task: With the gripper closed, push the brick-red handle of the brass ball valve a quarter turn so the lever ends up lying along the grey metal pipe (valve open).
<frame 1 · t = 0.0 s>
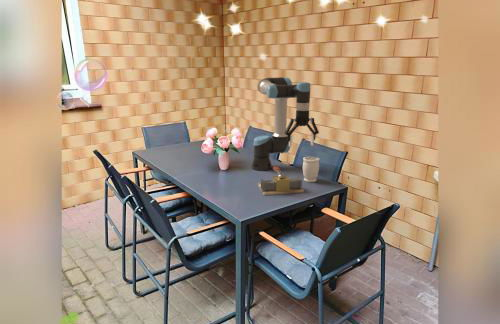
hand: (301, 145, 208), 28 cm above the table, fingers open, 13 cm apart
lever: (278, 171, 219), point 10 cm above the table, hinge at 0.0°
valve pipe: (281, 190, 215), resting on board
board: (280, 188, 219), on the table
jar: (310, 180, 233), on the table
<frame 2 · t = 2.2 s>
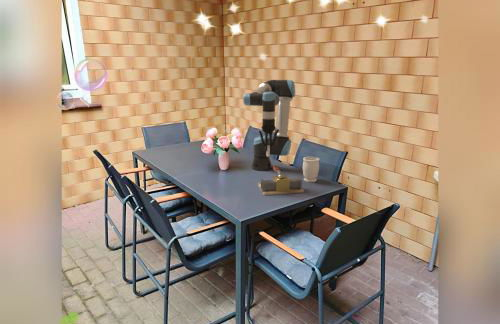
hand: (268, 156, 217), 20 cm above the table, fingers closed
nothing on the table moved.
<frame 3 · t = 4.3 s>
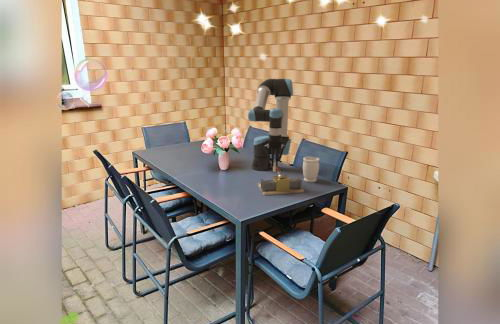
hand: (274, 171, 221), 10 cm above the table, fingers closed
lever: (278, 171, 219), point 10 cm above the table, hinge at 0.5°, touching gripper
everything else where it was.
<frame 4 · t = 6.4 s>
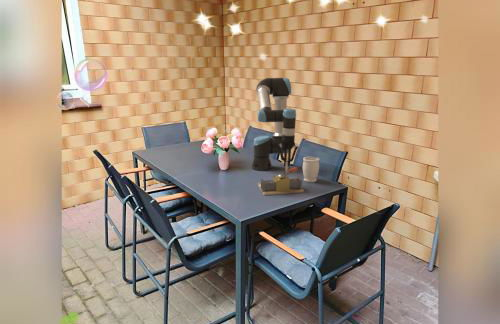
hand: (286, 171, 220), 10 cm above the table, fingers closed
lever: (288, 172, 217), point 10 cm above the table, hinge at 50.5°, touching gripper
everything else where it was.
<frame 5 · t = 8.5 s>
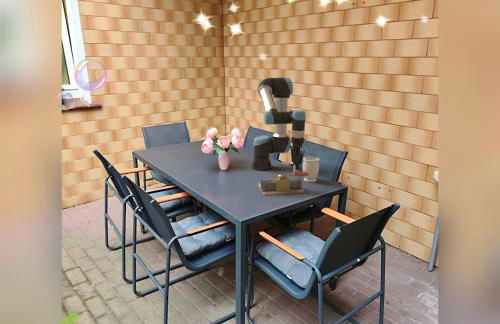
hand: (295, 174, 215), 10 cm above the table, fingers closed
lever: (293, 174, 213), point 10 cm above the table, hinge at 95.5°, touching gripper
everything else where it was.
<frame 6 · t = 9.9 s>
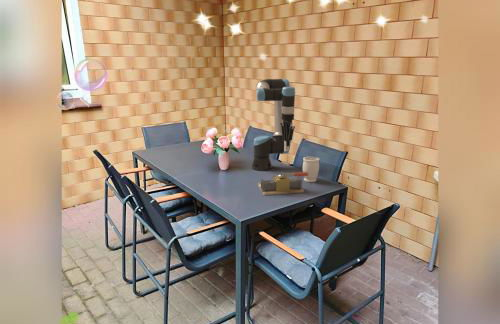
hand: (286, 150, 218), 22 cm above the table, fingers closed
lever: (293, 174, 213), point 10 cm above the table, hinge at 95.5°
everything else where it was.
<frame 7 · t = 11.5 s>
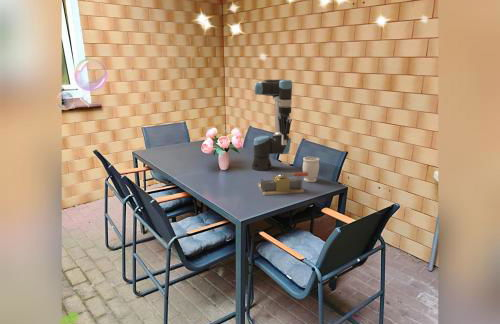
hand: (284, 144, 217), 26 cm above the table, fingers closed
nothing on the table moved.
at the end: lever at +96° (first picture: +0°) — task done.
